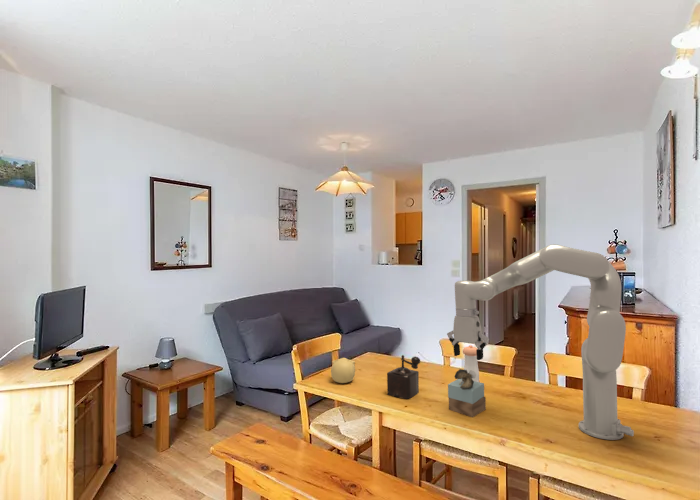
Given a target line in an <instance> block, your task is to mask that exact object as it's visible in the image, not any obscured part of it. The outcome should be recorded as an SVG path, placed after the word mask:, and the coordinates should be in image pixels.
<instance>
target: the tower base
mask: <svg viewBox="0 0 700 500" xmlns="http://www.w3.org/2000/svg"><path fill="white" fill-rule="evenodd" d="M486 402H487V401H486V396H484V397H482V398H481V399H480V400H478V401H477V402H475V403H474V404H471V403H467V402H463V401H460V400H456V399H452V398H449V397H448V410H450V411H453V412H455V413H459V414H460V415H461V414H462V415H464V416H468V417H470V418H474V417H476V416H477V415H479V414H480V413H482V412H484V411H486V410H487V409H486V408H487V407H486V404H487V403H486Z"/></svg>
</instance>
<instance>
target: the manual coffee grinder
mask: <svg viewBox="0 0 700 500" xmlns="http://www.w3.org/2000/svg"><path fill="white" fill-rule="evenodd" d="M400 357H401V358H400V361H401V366H400V367H396V368H394V369H393V370H390V371H388V372H387V373H386V375H387V376H386V381H387V382H386V384H387V386H386V387H387V389H386V390H387V392H386V393H387V396H391V397H395V398H398V399H399V398H400V399H404V400H409V399H411V398H414V397H415V396H417V395H418V394H419V392H420V389H419V385H420V384H419V374H420V373H419V370H417V369H418V366H419V365H420V364H421V359H420V357H418V356H412V357H411V359H410V360H411V361H408V360H407V359H405V355H404V354H402V355H401V356H400ZM405 363H406V364H409V365H410V366H411V368H412V369H410V368H408V367H406V366H405Z"/></svg>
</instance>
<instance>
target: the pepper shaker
mask: <svg viewBox="0 0 700 500" xmlns="http://www.w3.org/2000/svg"><path fill="white" fill-rule="evenodd" d="M477 349H478V348H477V347H476V346H473V345H471V344H470V345H468V346H465V347H463V349H462V353H463V354H462V355H464V367H463V370H467V372H468V373H469V372H470V370H472V371H474V372H475V373H476V377H475V378H472V380H473V381H476V382H480V383H481V381H480V370H479V366H478V364H479V363H478V360H477V351H476V350H477Z"/></svg>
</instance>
